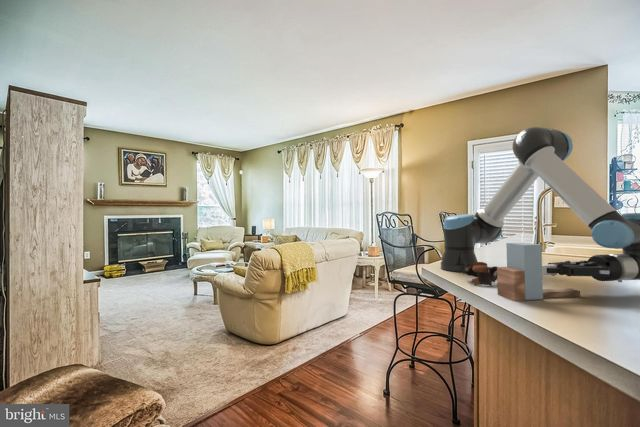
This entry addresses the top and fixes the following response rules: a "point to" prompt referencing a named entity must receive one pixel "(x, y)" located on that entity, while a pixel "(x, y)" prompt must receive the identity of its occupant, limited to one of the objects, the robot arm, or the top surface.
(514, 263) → the blue-grey tall block
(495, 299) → the top surface
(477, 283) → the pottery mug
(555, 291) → the wooden mallet
